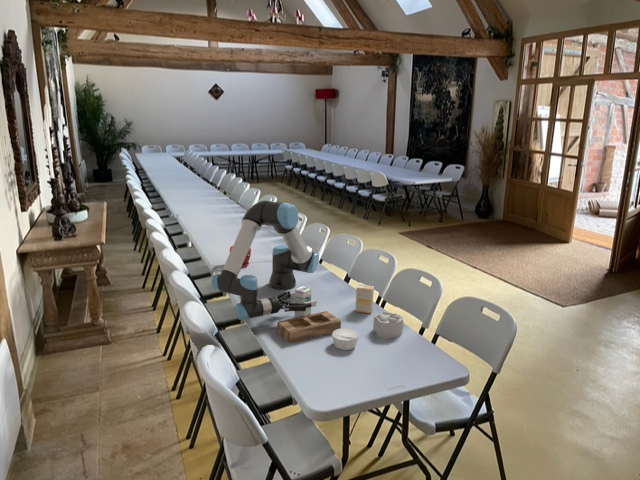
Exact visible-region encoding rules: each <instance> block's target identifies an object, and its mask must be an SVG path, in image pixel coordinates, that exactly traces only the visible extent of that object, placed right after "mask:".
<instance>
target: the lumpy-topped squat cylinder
mask: <svg viewBox="0 0 640 480" xmlns="http://www.w3.org/2000/svg"><path fill="white" fill-rule="evenodd" d="M403 328H404V316H403V315H401V314H398V313H397V312H389V311H387V310H385V311H382V313H377V314H375V315H374V316H373V328H372V331H373V333H375V334H376V336H377V337H379V338H383V339H389V338H397V337H399V336H402V334H403Z"/></svg>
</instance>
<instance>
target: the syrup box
mask: <svg viewBox="0 0 640 480" xmlns="http://www.w3.org/2000/svg"><path fill="white" fill-rule="evenodd" d="M294 292H295V298H294V303H303V304H304V302H309V301H312V288H310V287H307V286H304V285H302V286H300V287H298V288H295V289H294ZM311 311H312V307H310V308H306V311H294V318H297V317H302V316H306V315H311V314H312V313H311Z"/></svg>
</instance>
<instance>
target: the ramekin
mask: <svg viewBox="0 0 640 480" xmlns="http://www.w3.org/2000/svg"><path fill="white" fill-rule="evenodd" d="M331 334H332V335H331V337H332V343H333V345H334V347H335V348H336V349H339V350H342V351H350V350H354V348H355V347H356V345H357V342H358V339H359V334H358V332H357V331H356V330H354V329H351V328H346V327H345V328H342V327H341V329H337V330H335V331H334V332H333V333H331Z"/></svg>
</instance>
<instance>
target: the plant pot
mask: <svg viewBox="0 0 640 480" xmlns="http://www.w3.org/2000/svg"><path fill="white" fill-rule="evenodd" d="M232 247H233V245H231V246H229V253H230V252H231V249H232ZM251 254H252V248H251V247H250V249H249V251H248V253H247V256H246V258H245V260H244V262H243V265H242V267H241V268H247V267H248V266H249V264H250V262H249V261H250V259H251Z"/></svg>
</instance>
